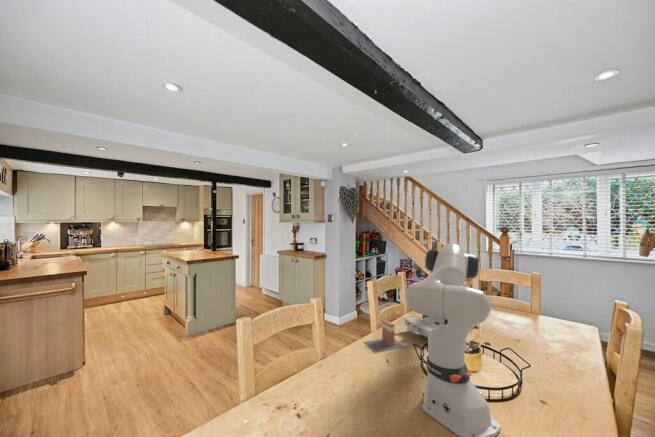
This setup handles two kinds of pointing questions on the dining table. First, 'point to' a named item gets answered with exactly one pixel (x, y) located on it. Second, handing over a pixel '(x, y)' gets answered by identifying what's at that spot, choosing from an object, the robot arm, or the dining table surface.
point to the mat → (383, 345)
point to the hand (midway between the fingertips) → (408, 329)
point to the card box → (388, 332)
